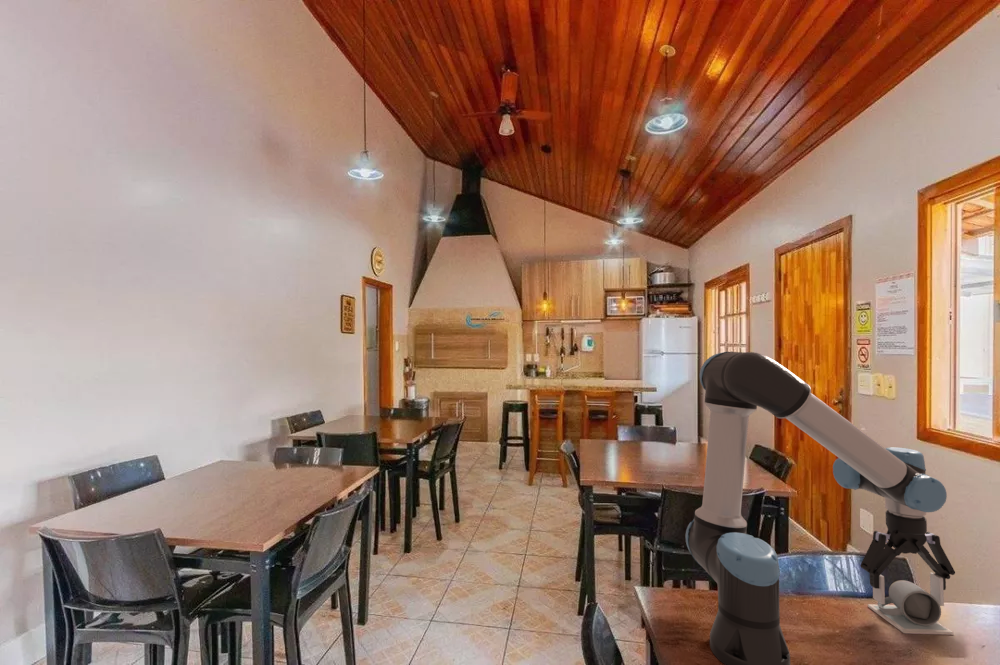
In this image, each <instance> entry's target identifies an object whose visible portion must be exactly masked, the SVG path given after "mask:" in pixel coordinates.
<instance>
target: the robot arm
mask: <svg viewBox="0 0 1000 665" xmlns="http://www.w3.org/2000/svg"><path fill="white" fill-rule="evenodd" d="M699 381H700V386H702V388H703V389H704V391H705V393H704V404H705V406H706V407H707V408H708V409H709V412H710V414H709V423H708V424H709V426H708V435H707V444H706V445H707V448H706V455H705V456H706V459H705V470H704V481H703V491H702V492H703V493H702V504H701V506H700V507H698V508H697V509H695V511H694V518H693V520H692V521H690V522H689V524H688V525H687V527H686V530H685V543H686V548H687V549H688V551H689V553H690V555H691V556H692V558H693V559H694V561H695V562H696V563H697V564H698V565H699V566H700V567H701V568H703V569H704V570H705V571H706V573H707V574H708V575H709V576H710V578H711V579H712V580H714V582H716V584H717V603H718V605H717V607H718V608H717V611H716V612H717V613H716V614H715V618H714V621H713V623H712V625H711V629H710V633H709V647H710V650H711V652H712V654H713V655H714V656H715V658H717V659H718V660H719V661H720V662H721V663H722V664H724V665H791V653H790V651H789V647H788V643H787V642H786V639H785V636H784V633H783V630H782V628H781V622H780V620H781V619H780V618H781V617H780V616H781V615H780V614H781V612H780V611H781V610H780V576H781V570H780V564H779V557H778V555H777V553H776V551H775V549H774V548H773V547H772V546H771V545H770V544H769V543H768V542H766V541H765V540H763V539H761V538H758V537H754V536H753V535H750V534H748V533H747V529H748V528H747V527H748V522H747V520H745V518H744V517H743V516H742V503H743V501H742V500H743V490H744V480H745V466H746V465H745V464H746V457H747V456H746V454H747V443H748V442H747V441H748V432H749V431H748V430H749V418H750V415H752V414H753V413H755V412H756V411H757V409H758V408H757V407H760V408H761V409H764V410H765V411H768V412H769V413H770V414H771V415H773V416H774V417H776V418H778V419H786V420H787V421H788V422H790V423H791V424H793V425H794V426H796V427H797V429H799V430H801V431H802V432H804V433H805V434H807V435H808V436H809V437H810V438H812V439H813V440H814V441H816V442H817V443H818V444H820V445H821V446H823V447H824V448H825V449H826V450H827V451H829V452H830V453H832V454H833V455H835V456H836V457H837V458H836V459H835V461H833V465H832V474H833V478H834V479H835V481H836V482H837V484H838V485H839V486H840V487H842V488H844V489H850V490H854V491H856V490H864V491H867V492H869V493H871V494H872V493H873V494H875V495H877V496H879V497H883V498H884V508H885V509H886V511H885V525H886V528H887V531H886V533H885V532H880V531H878V530H874V531H873V535H872V541H871V543H870V545H869V547H868V549H867V550H866V553H865V554H864V556H863V559H862V561H861V563H860V568H861V569H862V570H864V571H866V572H867V573H869V585H870V586H871V587H872V598H873V600H875V601H876V602H877V603H878V602H879V603H881V604H885V598H886V597H885V596H886V594H885V576H884V575H882V573H883V572H884V571H885V570H886V569H887V568H888V566H889V565H890V564H891V563H892V561H893V560H894V559H896V557H897V556H900V555H901V554H906V555H907V554H914V555H917V554H918V556H919V557H920V558H921V559H922V560H923V562H925V564H926V565H927V566H928V567H929V568H930V569H931V570H932V571H933V572H929V586H930V587H929V591H930V592H929V594H930V595H932V596H933V597H934V598H935V599H936V600H937V601H938V603H939V605H940V607H945V602H944V601H945V597H944V593H945V592H944V591H945V590H946V589H947V585H946V584H947V582H946V580H949V579H950V578H951V575H952V576H954V575H955V574H956V571H955V569H954V567H953V565H952V564H951V562H950V560H949V558H948V556H947V554H946V552H945V550H944V548H943V547H942V544H941V538H940V536H939V535H936V534H935V533H932V532H930V531H928V528H927V527H928V525H927V524H928V523H927V518H926V517H925V516H926V515H927V513H935V512H937V511H939V510H941V509H942V508H943V506H944V504H945V503H946V502H947V498H948V497H947V496H948V495H947V489H946V487H945V485H944V484H943V483H942V482H941V481H940V480H939V479H937V478H935V477H933V476H930V475H928V474H926V471H927V469H926V463H925V462H926V461H925V457H924V454H923V453H922V452H920V450H917V449H912V448H911V449H910V448H905V447H897V446H896V447H895V446H894V447H893V446H892V447H884V446H882V445H881V444H880V443H878V441H876V440H875V439H873V438H872V437H871V436H869V435H868V434H867V433H865V432H864V431H862V430H861V429H860V428H858V426H856V425H854V423H852V422H851V421H850V420H848V419H847V418H845V416H843V415H841V414H840V413H838V412H837V411H836V410H835V409H833V408H832V407H831V406H829V405H828V404H827V403H825V402H824V401H823V400H821V399H820V398H819V397H817V396H816V395H815V394H813V393H812V388H811V386H810V385H809V384H808V383H807V382H806V381H804V380H803V379H802V378H800V377H799V376H797V375H796V374H795V373H793V372H792V371H791V370H789V369H788V368H787V367H785V366H784V365H782V364H781V363H779V362H778V361H776V360H774V359H773V358H771V357H769V356H767V355H765V354H761V353H759V352H753V351H746V352H744V351H742V352H741V351H722V352H717V353H715V354H713V355H711V356H709V357H708V358H707V359H706V360H705V361H704V362H703V364H702V366H701V368H700V370H699ZM926 543H927V545H928V546H929V549H930V550H931V553H932V554H933V556H934V557H933V556H932V555H931V554H930V551H929V550H928V549H927V548H926V546H924V545H925V544H926Z"/></svg>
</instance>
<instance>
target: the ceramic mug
mask: <svg viewBox="0 0 1000 665" xmlns="http://www.w3.org/2000/svg"><path fill="white" fill-rule="evenodd" d="M891 604H892V605H895V606H896V607H897V608H893V609H888V608H884V607H883V606H885V605H891ZM877 605H878V606H879V609H880V610H881V612H882V613H884V614H886V615H891V616H896V615H905V616H906V618H908V619H909V620H910V621H911V622H913V623H915V624H918V625H922V626H929V625H933V624H935V623H936V622H939V620H940V618H941V617H942V616H941V615H942V608H941V607H942V606H940V605H939V603H938V601H937V600H936V599H935V598H934V597H933V596H932V595H930V592H927V591H926V590H924V588H922V587H920V586H919V585H917V584H916V583H913V582H912V581H908V580H904V579H902V580H899V579H898V580H896V581H893V583H891V585H890V586H889V588H888V596H886V597H885V604H881V603H879V602H878V601H877Z"/></svg>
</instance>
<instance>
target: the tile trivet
mask: <svg viewBox="0 0 1000 665" xmlns="http://www.w3.org/2000/svg"><path fill="white" fill-rule="evenodd" d="M867 607H868V608H869V609H870V610H872V611H873V612H874V613H876V614H877V615H878V616H880V617H881V618H882V619H884V620H885V621H887V622H888V623H889V624H891V625H892V626H893V627H895V628H896V629H897V630H898V631H900V632H901V633H903V634H917V635H920V634H921V635H943V636H944V635H950V636H951V635H952V636H953V635H954V631H952V630H951V629H950V628H948V627H947V626H946V625H944V624H941V623H940V622H939V621H937V622H936V623H935V624H933V625H929V626H922V625H918V624H915V623H913V622H911V621H910V620H909V619H908V618H906V616H905V615H896V616H891V615H886V614H884V613H882V612H881V610H880V609H879V606H878V604H874V603H873V604H870V603H868V604H867ZM883 607H884V608H888V609H893V608H897V607H896V606H895V605H894V604H887V605H885V606H883Z"/></svg>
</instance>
